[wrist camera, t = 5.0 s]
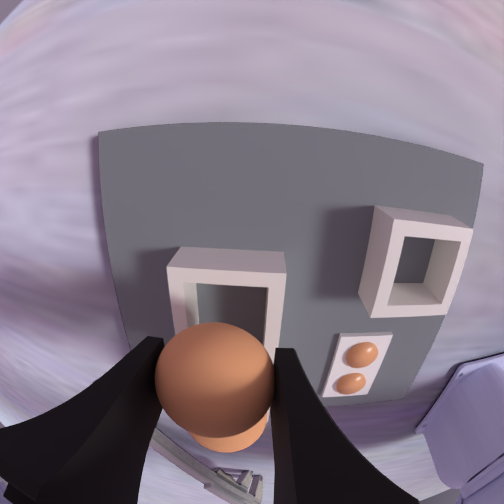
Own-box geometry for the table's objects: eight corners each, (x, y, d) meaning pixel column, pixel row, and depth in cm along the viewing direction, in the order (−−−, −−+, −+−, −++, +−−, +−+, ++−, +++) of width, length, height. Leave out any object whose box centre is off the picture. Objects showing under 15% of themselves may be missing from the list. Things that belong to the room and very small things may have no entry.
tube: (428, 293, 12) (446, 314, 11) (357, 293, 12) (370, 317, 11) (449, 215, 11) (473, 229, 9) (374, 205, 11) (394, 219, 9)
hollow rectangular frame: (268, 396, 16) (267, 422, 14) (196, 390, 16) (190, 415, 14) (283, 251, 12) (286, 273, 10) (180, 246, 12) (166, 266, 10)
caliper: (263, 473, 24) (262, 520, 18) (256, 475, 24) (253, 521, 18) (100, 376, 18) (68, 436, 12) (95, 380, 18) (64, 437, 13)
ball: (270, 379, 11) (269, 460, 7) (178, 370, 11) (153, 445, 8) (280, 303, 10) (284, 395, 6) (167, 294, 10) (122, 374, 6)
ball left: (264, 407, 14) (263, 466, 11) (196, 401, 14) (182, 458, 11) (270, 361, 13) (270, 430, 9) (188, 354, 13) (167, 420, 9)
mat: (399, 388, 17) (402, 398, 16) (149, 382, 17) (144, 392, 16) (472, 161, 10) (483, 163, 10) (109, 131, 11) (98, 132, 10)
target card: (366, 390, 15) (367, 396, 15) (321, 393, 15) (322, 399, 15) (391, 331, 13) (394, 337, 13) (339, 333, 13) (342, 339, 13)
